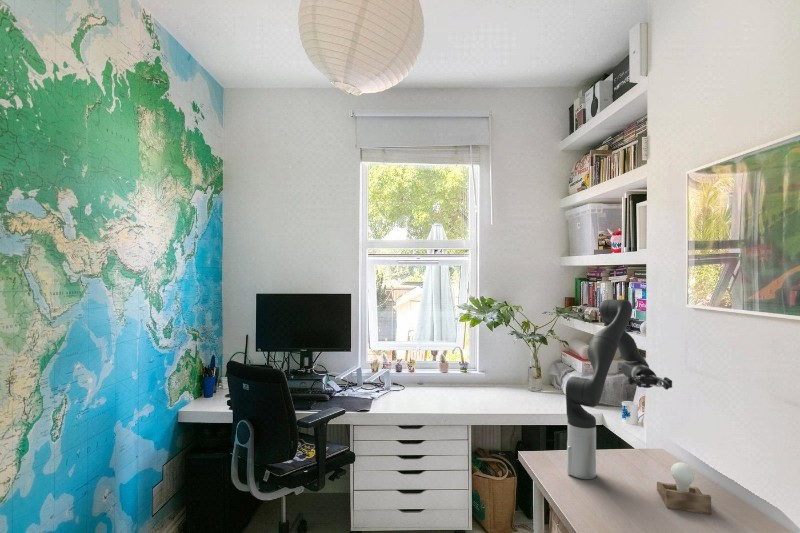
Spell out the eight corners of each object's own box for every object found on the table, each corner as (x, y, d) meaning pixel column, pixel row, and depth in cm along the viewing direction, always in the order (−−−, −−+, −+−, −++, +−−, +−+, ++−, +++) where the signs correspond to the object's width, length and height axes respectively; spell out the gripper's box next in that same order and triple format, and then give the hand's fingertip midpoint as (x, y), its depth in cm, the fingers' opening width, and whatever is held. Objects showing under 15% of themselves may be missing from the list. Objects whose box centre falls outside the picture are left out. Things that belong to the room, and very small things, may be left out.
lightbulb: (698, 505, 130) (698, 468, 130) (676, 503, 131) (676, 466, 131) (689, 495, 136) (689, 460, 136) (667, 493, 137) (667, 458, 137)
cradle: (666, 507, 130) (666, 490, 130) (656, 489, 140) (656, 474, 141) (711, 514, 126) (711, 497, 126) (697, 495, 137) (697, 479, 137)
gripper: (623, 365, 173) (631, 373, 158) (663, 367, 169) (676, 376, 154) (623, 383, 173) (631, 394, 158) (664, 387, 169) (676, 398, 154)
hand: (653, 385), depth 156 cm, fingers open, 8 cm apart
